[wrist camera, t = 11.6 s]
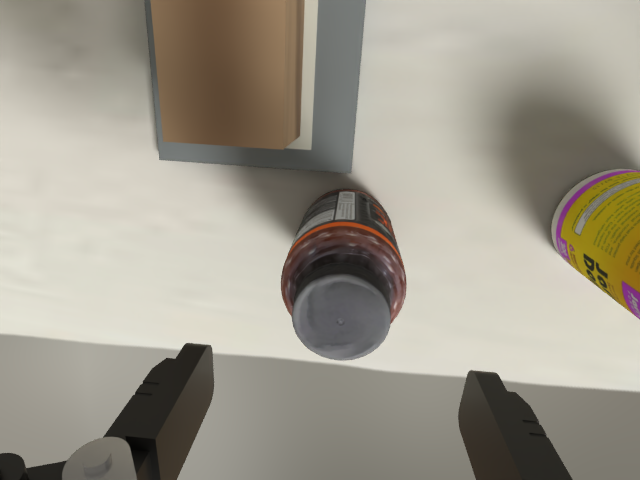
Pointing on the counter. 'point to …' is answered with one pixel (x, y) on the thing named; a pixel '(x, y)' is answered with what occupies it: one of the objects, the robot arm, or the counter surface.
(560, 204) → the supplement bottle
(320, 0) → the mat
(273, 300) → the counter surface
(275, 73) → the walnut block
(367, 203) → the supplement bottle
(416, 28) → the counter surface
